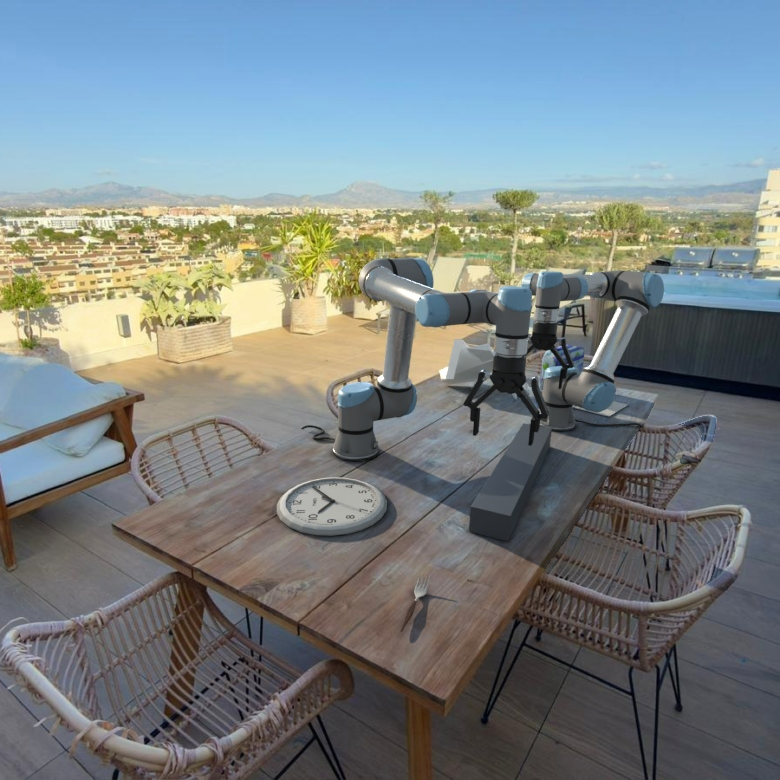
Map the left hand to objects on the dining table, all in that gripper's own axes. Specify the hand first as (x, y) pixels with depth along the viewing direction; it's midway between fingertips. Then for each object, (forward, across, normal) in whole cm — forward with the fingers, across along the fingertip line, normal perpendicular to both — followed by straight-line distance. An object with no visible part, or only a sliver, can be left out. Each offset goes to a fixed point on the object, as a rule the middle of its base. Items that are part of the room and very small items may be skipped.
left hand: (502, 438), depth 128 cm
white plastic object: (+24, -34, +109) cm, 116 cm away
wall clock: (+24, -42, -11) cm, 50 cm away
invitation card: (+24, +18, +113) cm, 117 cm away
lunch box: (+24, -1, +131) cm, 133 cm away
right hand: (0, 0, +52) cm, 52 cm away
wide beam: (+24, 0, +26) cm, 35 cm away
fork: (+24, -7, -38) cm, 45 cm away
